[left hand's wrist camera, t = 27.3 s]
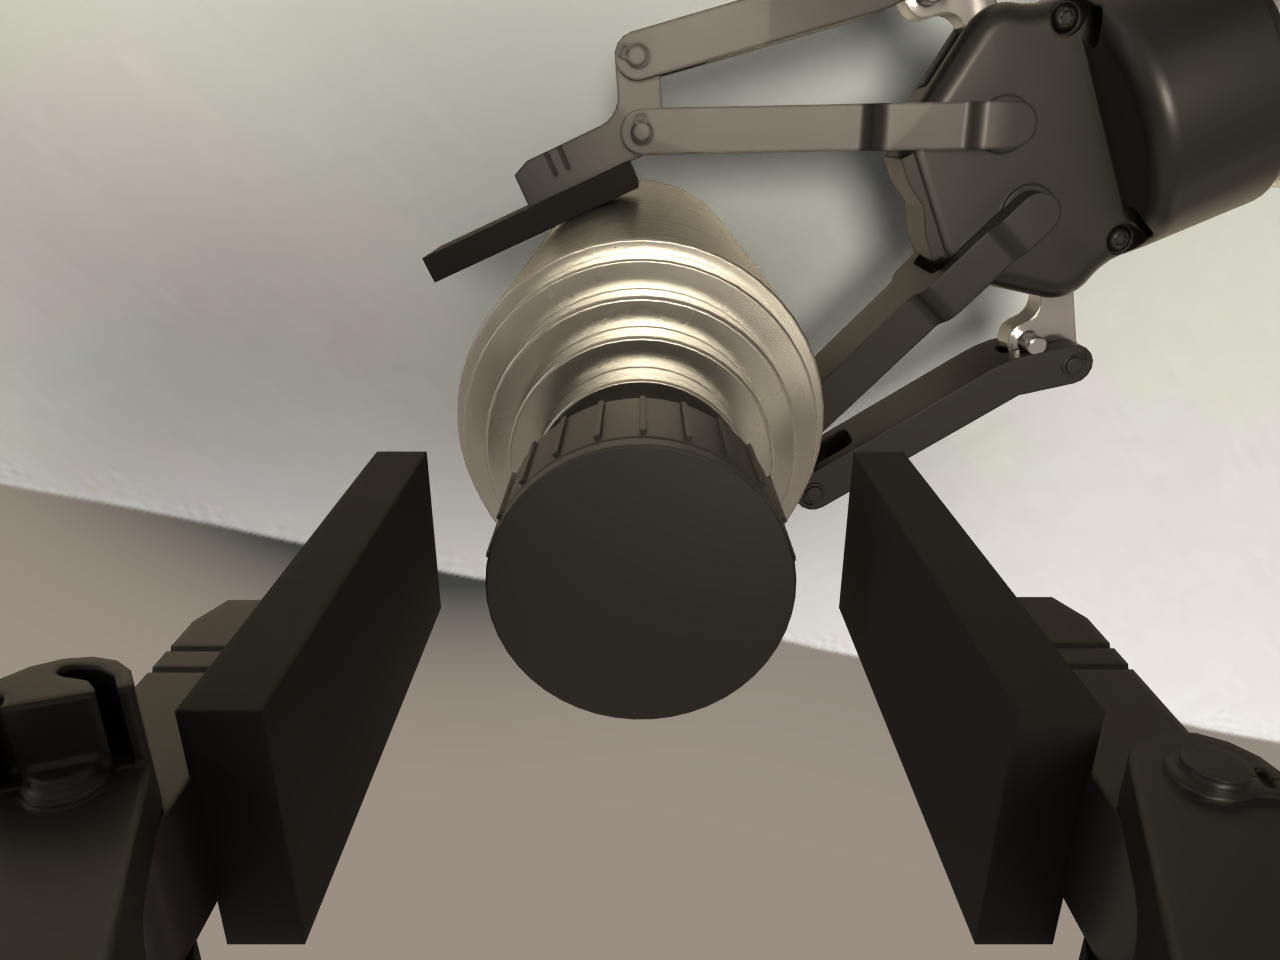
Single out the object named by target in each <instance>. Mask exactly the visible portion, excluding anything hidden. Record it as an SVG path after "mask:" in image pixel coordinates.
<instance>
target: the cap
mask: <svg viewBox="0 0 1280 960" xmlns="http://www.w3.org/2000/svg"><path fill="white" fill-rule="evenodd" d="M496 518H497V519H498V521H497V524H496V527H495V530H494V533H493V536H492V539H491V541H490V544H489V547H488V550H487V554H486V557H488V560H487V565H486V582H485V584H486V595H487V603H488V607H489V612H490V616H491V619H492V622H493V624H494V627H495V629H496V632H497V635H498V636H499V638H500V640H501V642H502V644H503V645H504V647H505V649H506V651H507V652H508V653H509V655H510V656H511V657H512V659H513V660H514V661H515V663H516V664H517V665H518V666H519V667H520V668H521V669H522V671H523V672H524V673H525V674H526V675H527V676H528V677H529V678H530V679H532V680H533V681H534V682H535V683H537V684H538V685H539V686H540V687H542V688H543V689H544V690H546V691H547V692H549V693H550V694H552V695H554V696H555V697H557V698H559V699H560V700H562V701H564V702H567V703H569V704H571V705H573V706H575V707H578V708H581V709H583V710H587V711H589V712H593V713H596V714H600V715H605V716H610V717H615V718H625V719H658V718H666V717H673V716H677V715H681V714H685V713H690V712H693V711H695V710H698V709H701V708H704V707H706V706H709V705H711V704H713V703H715V702H717V701H719V700H721V699H723V698H725V697H726V696H728V695H730V694H731V693H733V692H734V691H736V690H737V689H739V688H740V687H741V686H743V685H744V684H745V683H746V682H747V681H749V680H750V679H751V678H752V677H753V676H754V675H755V674H756V673H757V672H758V671H759V670H760V669H761V668H762V667H763V666H764V665H765V664H766V663H767V661H768V660H769V658H770V657H771V656H772V654H773V653H774V651H775V650H776V649H777V647H778V645H779V643H780V641H781V639H782V637H783V635H784V634H785V632H786V629H787V626H788V624H789V621H790V618H791V615H792V611H793V606H794V601H795V594H796V571H795V561H796V557H795V553H794V550H793V548H792V545H791V542H790V539H789V536H788V533H787V531H786V528H785V525H784V523H785V522H787V520H786V517H785V514H784V511H783V509H782V506H781V503H780V500H779V498H778V495H777V492H776V489H775V486H774V484H773V481H772V478H771V476H770V475H769V476H766V475H765V472H764V470H763V468H762V466H761V465H760V463H759V461H758V460H757V458H756V455H755V452H754V450H753V447H752V445H751V444H750V443H749V444H747V445H746V444H745V442H744V441H743V440H742V439H741V438H740V437H738V436H737V435H736V434H735V433H734V432H733V431H732V430H731V429H730V428H728V427H727V426H725V425H724V421H723V420H722V419H721V418H718V419H715V418H713V417H711V416H710V415H708V414H706V413H704V412H702V411H700V410H697V409H695V408H692V407H689V406H687V403H686V402H683V401H681V404H680V403H676V402H672V401H668V400H660V399H651V398H646V396H641V395H640V398H629V399H622V400H615V401H609V402H604V400H602V401H599V402H598V405H595V406H592V407H589V408H587V409H584V410H582V411H580V412H577V413H575V414H574V415H572V416H570V417H568V418H567V417H566V416H564V417H562V418H561V421H560V423H559V424H557V425H556V426H555V427H554V428H552V429H551V430H550V431H548V432H547V433H546V434H545V435H544V436H543V437H542V438H541V439H540V440H539V441H538V442H536V441H535V440H534V441H533V442H532V444H531V446H530V449H529V452H528V455H527V456H526V457H525V459H524V460H523V462H522V464H521V466H520V468H519V469H518V471H517V473H514V472H513V473H512V475H511V477H510V480H509V483H508V486H507V489H506V491H505V494H504V497H503V500H502V503H501V505H500V508H499V511H498V514H497V517H496Z"/></svg>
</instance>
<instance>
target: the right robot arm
mask: <svg viewBox="0 0 1280 960" xmlns="http://www.w3.org/2000/svg"><path fill="white" fill-rule="evenodd" d="M894 5H896V7H897V9H898V11H899V12H900V14H901V15H902V16H903V17H904V18H906V19H907V20H910V21H921V20H924V19H927V18H930V17H933V16H939V17H943V18H945V19H947V20H948V21H950V23H951V24H952V25H953V27H954V30H953V31H952V33H951V34H950V36H949V37H948V39H947V41H946V42H945V44H944V45H943V47H942V48H941V50H940V52H939V53H938V55H937V56H936V58H935V59H934V61H933V63H932V64H931V66H930V67H929V69H928V70H927V72H926V74H925V75H924V77H923V78H922V80H921V81H920V83H919V85H918V86H917V88H916V89H915V91H914V92H913V94H912V96H911V97H910V99H909V100H908V102H907V103H876V104H831V105H782V106H733V107H684V108H662V101H661V83H660V77H663V76H666V75H670V74H673V73H677V72H680V71H684V70H687V69H691V68H694V67H697V66H701V65H704V64H708V63H711V62H715V61H718V60H722V59H725V58H729V57H732V56H736V55H739V54H743V53H746V52H750V51H753V50H757V49H760V48H763V47H767V46H770V45H774V44H777V43H781V42H784V41H788V40H791V39H795V38H798V37H802V36H805V35H809V34H812V33H816V32H819V31H822V30H826V29H829V28H833V27H836V26H840V25H843V24H847V23H850V22H854V21H857V20H860V19H863V18H865V17H868V16H871V15H873V14H876V13H878V12H880V11H883V10H885V9H887V8H890V7H892V6H894ZM615 63H616V77H617V91H618V102H617V106H616V110H615V112H614V114H613V115H612V117H611V118H610V119H609V120H608V121H607V122H606V123H604V124H603V125H601V126H599V127H597V128H595V129H593V130H591V131H589V132H587V133H585V134H583V135H580V136H578V137H576V138H574V139H572V140H570V141H568V142H566V143H564V144H562V145H560V146H558V147H555V148H553V149H551V150H549V151H547V152H545V153H543V154H541V155H539V156H537V157H535V158H532V159H530V160H528V161H527V162H526V163H525V164H524V165H523V166H522V167H521V169H520V170H519V171H518V172H517V173H516V174H515V177H516V180H517V182H518V184H519V186H520V188H521V190H522V192H523V194H524V197H525V199H526V201H527V203H528V205H527V206H525V207H523V208H521V209H519V210H517V211H514V212H512V213H510V214H508V215H506V216H504V217H502V218H500V219H497V220H495V221H493V222H491V223H489V224H487V225H485V226H483V227H480V228H478V229H476V230H474V231H472V232H470V233H468V234H466V235H463V236H461V237H459V238H457V239H455V240H453V241H451V242H449V243H447V244H444V245H442V246H440V247H439V248H437V249H436V250H434V251H433V252H431V253H430V254H428V255H427V256H425V257H424V258H422V259H423V261H424V263H425V265H426V267H427V268H428V270H429V272H430V274H431V276H432V278H433V280H434V282H437V281H439V280H441V279H443V278H445V277H448V276H450V275H452V274H454V273H456V272H458V271H461V270H463V269H465V268H467V267H469V266H471V265H473V264H476V263H478V262H480V261H482V260H484V259H486V258H489V257H491V256H493V255H495V254H497V253H499V252H501V251H504V250H506V249H508V248H510V247H512V246H514V245H516V244H519V243H521V242H523V241H525V240H527V239H529V238H532V237H534V236H536V235H538V234H540V233H542V232H544V231H547V230H549V229H551V228H553V227H555V226H557V225H560V224H562V223H564V222H566V221H568V220H570V219H572V218H575V217H577V216H579V215H581V214H583V213H585V212H587V211H589V210H592V209H594V208H596V207H598V206H600V205H603V204H605V203H607V202H609V201H611V200H613V199H615V198H618V197H620V196H622V195H624V194H626V193H628V192H631V191H633V190H635V189H637V188H639V180H638V178H637V176H636V173H635V171H634V169H633V166H632V164H631V162H630V161H632V160H635V159H637V158H639V157H641V156H643V155H661V154H711V153H761V152H810V151H888V154H887V155H884V156H883V158H884V161H885V164H886V167H887V170H888V173H889V176H890V179H891V181H892V183H893V184H894V186H895V187H896V189H897V190H898V192H899V193H900V195H901V196H902V198H903V199H904V201H905V204H906V223H907V231H908V234H909V237H910V240H911V244H912V247H913V250H914V252H915V253H914V254H913V255H912V256H911V257H910V258H909V259H908V260H907V261H906V262H905V263H904V264H903V265H902V266H901V267H900V268H899V269H898V270H897V271H896V273H895V274H894V276H893V278H892V281H891V282H890V284H889V285H888V286H887V287H886V288H885V289H884V290H883V291H882V292H881V293H880V294H879V295H878V296H877V297H875V298H874V299H873V300H872V301H871V302H870V303H869V304H868V305H867V306H866V307H865V308H864V309H863V310H862V311H861V312H860V313H859V314H858V315H857V316H856V317H855V318H854V319H853V320H852V321H851V322H850V323H849V324H848V325H847V326H846V327H845V328H844V329H843V330H841V331H840V332H839V333H838V334H837V335H836V336H835V337H834V338H833V339H832V340H831V341H830V342H829V343H828V344H827V345H826V346H825V347H824V348H823V349H822V350H821V351H820V352H819V353H818V354H817V355H816V356H815V357H814V358H815V361H816V365H817V369H818V372H819V376H820V380H821V386H822V395H823V405H824V410H823V431H824V430H825V429H827V428H828V427H829V426H830V425H831V424H832V423H833V422H834V421H835V420H836V419H837V418H838V417H839V416H840V415H841V414H843V413H844V412H845V411H846V410H847V409H848V408H849V407H850V406H851V405H852V404H853V403H854V402H855V401H856V400H857V399H859V398H860V397H861V396H862V395H863V394H864V393H865V392H866V391H867V390H868V389H869V388H870V387H871V386H872V385H873V384H875V383H876V382H877V381H878V380H879V379H880V378H881V377H882V376H883V375H884V374H885V373H886V372H887V371H888V370H890V369H891V368H892V367H893V366H894V365H895V364H896V363H897V362H898V361H899V360H900V359H901V358H902V357H903V356H904V355H906V354H907V353H908V352H909V351H910V350H911V349H912V348H913V347H914V346H915V345H916V344H917V343H918V342H919V341H920V340H922V339H923V338H924V337H925V336H926V335H927V334H928V333H929V332H930V331H931V330H932V329H933V328H934V327H936V326H937V325H938V324H940V323H943V322H946V321H948V320H950V319H952V318H953V317H955V316H956V315H957V314H958V313H959V312H961V311H962V310H963V309H964V308H965V307H966V306H967V305H968V304H969V303H970V302H971V301H972V300H973V299H974V298H976V297H977V296H978V295H979V294H980V293H981V292H982V291H983V290H984V289H985V288H986V287H987V286H988V285H990V286H995V287H999V288H1004V289H1009V290H1013V291H1018V292H1022V293H1027V294H1029V299H1028V302H1027V305H1026V306H1025V308H1024V309H1023V310H1022V311H1021V312H1020V313H1019V314H1017V315H1015V316H1013V317H1011V318H1009V319H1007V320H1006V321H1005V322H1004V323H1003V324H1002V325H1001V326H1000V329H999V332H998V338H995V339H992V340H988V341H986V342H983V343H981V344H978V345H976V346H974V347H972V348H970V349H968V350H966V351H964V352H962V353H960V354H959V355H957V356H955V357H953V358H952V359H950V360H948V361H947V362H945V363H943V364H942V365H940V366H938V367H936V368H935V369H933V370H931V371H930V372H928V373H926V374H925V375H923V376H921V377H919V378H918V379H916V380H914V381H913V382H911V383H909V384H908V385H906V386H904V387H902V388H901V389H899V390H897V391H896V392H894V393H892V394H891V395H889V396H887V397H885V398H884V399H882V400H880V401H879V402H877V403H875V404H874V405H872V406H870V407H869V408H867V409H865V410H863V411H862V412H860V413H858V414H857V415H855V416H853V417H852V418H850V419H848V420H846V421H845V422H843V423H841V424H840V425H838V426H836V427H835V428H833V429H831V430H829V431H828V432H826V433H824V434H823V435H822V437H821V443H820V449H819V453H818V457H817V460H816V463H815V466H814V470H813V473H812V475H811V477H810V479H809V481H808V483H807V486H806V488H805V490H804V492H803V494H802V496H801V498H800V500H799V502H798V503H799V504H800V505H801V506H802V507H804V508H806V509H818V508H821V507H823V506H825V505H827V504H829V503H830V502H832V501H834V500H836V499H837V498H839V497H841V496H843V495H845V494H846V493H848V492H850V484H851V473H852V462H853V452H904V454H905V455H906V456H907V458H909V457H911V456H913V455H915V454H916V453H918V452H920V451H922V450H923V449H925V448H927V447H929V446H930V445H932V444H934V443H936V442H937V441H939V440H941V439H943V438H944V437H946V436H948V435H950V434H951V433H953V432H955V431H957V430H959V429H960V428H962V427H964V426H966V425H967V424H969V423H971V422H973V421H974V420H976V419H978V418H980V417H981V416H983V415H985V414H987V413H988V412H990V411H992V410H994V409H995V408H997V407H999V406H1001V405H1002V404H1004V403H1006V402H1008V401H1009V400H1011V399H1013V398H1015V397H1016V396H1018V395H1022V394H1026V393H1031V392H1036V391H1040V390H1045V389H1049V388H1054V387H1059V386H1063V385H1068V384H1073V383H1076V382H1078V381H1081V380H1082V379H1083V378H1084V377H1086V376H1087V375H1088V373H1089V372H1090V370H1091V368H1092V363H1093V359H1092V355H1091V353H1090V352H1089V351H1088V349H1087V348H1085V347H1083V346H1081V345H1079V344H1078V343H1077V342H1076V331H1075V313H1074V296H1073V292H1074V291H1075V290H1077V289H1078V288H1080V287H1081V286H1082V285H1083V284H1084V283H1085V282H1086V281H1087V280H1088V279H1089V278H1090V277H1091V276H1092V274H1093V273H1094V272H1095V271H1096V270H1097V269H1099V268H1100V267H1101V266H1102V265H1103V264H1105V263H1106V262H1108V261H1109V260H1111V259H1112V258H1114V257H1116V256H1119V255H1121V254H1124V253H1127V252H1129V251H1132V250H1135V249H1138V248H1140V247H1143V246H1146V245H1148V244H1151V243H1153V242H1155V241H1158V240H1160V239H1162V238H1165V237H1167V236H1170V235H1172V234H1174V233H1177V232H1179V231H1182V230H1184V229H1186V228H1189V227H1191V226H1194V225H1196V224H1198V223H1201V222H1203V221H1205V220H1208V219H1210V218H1213V217H1215V216H1217V215H1220V214H1222V213H1225V212H1227V211H1229V210H1232V209H1234V208H1237V207H1239V206H1241V205H1244V204H1246V203H1249V202H1251V201H1253V200H1255V199H1257V198H1258V197H1260V196H1262V195H1263V194H1264V193H1265V192H1266V191H1267V190H1268V189H1269V188H1270V187H1278V188H1279V187H1280V0H1041V1H1039V2H1037V3H1030V4H1022V3H1013V2H1000V3H997V1H996V0H738V1H734V2H731V3H728V4H724V5H721V6H717V7H714V8H711V9H707V10H704V11H700V12H697V13H694V14H690V15H687V16H683V17H680V18H676V19H673V20H670V21H666V22H663V23H659V24H656V25H653V26H649V27H646V28H642V29H639V30H636V31H632V32H630V33H628V34H626V35H624V36H623V37H622V38H621V40H620V41H619V42H618V44H617V47H616V50H615ZM823 431H822V432H823Z"/></svg>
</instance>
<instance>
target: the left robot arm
mask: <svg viewBox="0 0 1280 960" xmlns="http://www.w3.org/2000/svg"><path fill="white" fill-rule="evenodd" d="M440 609H441V603H440V592H439V581H438V571H437V560H436V549H435V538H434V527H433V516H432V506H431V495H430V484H429V473H428V462H427V452H376V454H375V455H374V456H373V458H372V459H371V460H370V461H369V463H368V464H367V465H366V467H365V468H364V469H363V470H362V472H361V473H360V474H359V476H358V477H357V478H356V479H355V481H354V482H353V483H352V485H351V486H350V487H349V488H348V490H347V491H346V492H345V493H344V495H343V496H342V497H341V499H340V500H339V501H338V502H337V504H336V505H335V506H334V508H333V509H332V510H331V511H330V513H329V514H328V515H327V517H326V518H325V519H324V520H323V522H322V523H321V524H320V526H319V527H318V528H317V529H316V531H315V532H314V533H313V534H312V536H311V537H310V538H309V540H308V541H307V542H306V543H305V545H304V546H303V547H302V549H301V550H300V551H299V552H298V554H297V555H296V556H295V558H294V559H293V560H292V561H291V563H290V564H289V565H288V567H287V568H286V569H285V570H284V572H283V573H282V574H281V576H280V577H279V578H278V579H277V581H276V582H275V583H274V585H273V586H272V587H271V588H270V590H269V591H268V592H267V593H266V595H265V596H264V597H263V599H262V600H228V601H226V602H225V603H223V604H221V605H220V606H218V607H216V608H215V609H213V610H211V611H210V612H208V613H206V614H205V615H203V616H202V617H200V618H198V619H196V620H195V621H193V622H192V623H191V624H190V626H189V627H188V628H187V629H186V630H185V631H184V632H183V634H182V635H181V636H180V637H179V638H178V639H177V640H176V642H175V643H174V644H173V645H172V646H171V651H170V652H166V653H165V654H164V655H163V656H162V657H161V658H160V660H159V661H158V662H157V663H156V664H155V665H154V666H153V671H152V673H147V674H146V675H145V677H144V678H143V679H142V680H141V681H140V682H139V683H138V684H137V686H136V687H135V685H134V681H133V677H132V673H131V670H129V669H128V668H127V667H125V666H124V665H122V664H121V663H120V662H118V661H116V660H110V659H104V658H98V657H83V658H69V659H61V660H56V661H52V662H48V663H44V664H40V665H36V666H32V667H28V668H26V669H23V670H21V671H18V672H16V673H14V674H11V675H9V676H6V677H4V678H1V679H0V960H201V957H200V953H199V948H198V944H197V938H198V936H199V934H200V932H201V931H202V929H203V927H204V925H205V923H206V921H207V919H208V917H209V916H210V914H211V912H212V910H213V908H214V906H215V904H216V903H217V901H218V905H219V910H220V914H221V918H222V923H223V927H224V932H225V936H226V940H227V944H305V943H306V940H307V938H308V935H309V933H310V930H311V928H312V925H313V923H314V920H315V918H316V916H317V913H318V910H319V908H320V905H321V903H322V901H323V898H324V896H325V893H326V891H327V888H328V886H329V883H330V881H331V878H332V876H333V873H334V871H335V868H336V866H337V864H338V861H339V859H340V856H341V853H342V851H343V849H344V846H345V844H346V841H347V839H348V836H349V834H350V831H351V829H352V826H353V824H354V821H355V819H356V817H357V814H358V812H359V809H360V807H361V804H362V802H363V799H364V797H365V794H366V792H367V789H368V787H369V784H370V782H371V779H372V777H373V774H374V772H375V769H376V767H377V765H378V762H379V760H380V757H381V755H382V752H383V750H384V747H385V745H386V742H387V740H388V737H389V735H390V732H391V730H392V727H393V725H394V722H395V720H396V717H397V715H398V713H399V710H400V708H401V705H402V703H403V700H404V698H405V695H406V693H407V690H408V688H409V685H410V683H411V680H412V678H413V675H414V673H415V670H416V668H417V666H418V663H419V661H420V658H421V656H422V653H423V651H424V648H425V646H426V643H427V641H428V638H429V636H430V633H431V631H432V628H433V626H434V623H435V621H436V618H437V616H438V614H439V611H440ZM839 609H840V611H841V614H842V616H843V618H844V621H845V623H846V626H847V628H848V631H849V633H850V636H851V638H852V641H853V643H854V646H855V648H856V651H857V653H858V656H859V658H860V661H861V663H862V666H863V668H864V670H865V673H866V675H867V678H868V680H869V683H870V685H871V688H872V690H873V693H874V695H875V698H876V700H877V703H878V705H879V708H880V710H881V713H882V715H883V717H884V720H885V722H886V725H887V727H888V730H889V732H890V735H891V737H892V740H893V742H894V745H895V747H896V750H897V752H898V755H899V757H900V759H901V762H902V764H903V767H904V769H905V772H906V774H907V777H908V779H909V782H910V784H911V787H912V789H913V792H914V794H915V797H916V799H917V802H918V804H919V807H920V809H921V811H922V814H923V816H924V819H925V821H926V824H927V826H928V829H929V831H930V834H931V836H932V839H933V841H934V844H935V846H936V849H937V851H938V854H939V856H940V859H941V861H942V863H943V866H944V868H945V871H946V873H947V876H948V878H949V881H950V883H951V886H952V888H953V891H954V893H955V896H956V898H957V901H958V903H959V906H960V908H961V911H962V913H963V915H964V918H965V920H966V923H967V925H968V928H969V930H970V933H971V935H972V938H973V940H974V943H975V944H1053V940H1054V936H1055V932H1056V927H1057V923H1058V918H1059V914H1060V910H1061V905H1062V901H1063V898H1064V900H1065V902H1066V904H1067V905H1068V907H1069V909H1070V911H1071V913H1072V915H1073V916H1074V918H1075V920H1076V922H1077V924H1078V926H1079V928H1080V929H1081V931H1082V933H1083V935H1084V940H1083V944H1082V948H1081V953H1080V957H1079V960H1280V771H1278V770H1277V769H1276V768H1274V767H1273V766H1272V765H1270V764H1269V763H1268V762H1266V761H1265V760H1263V759H1262V758H1261V757H1259V756H1257V755H1255V754H1253V753H1251V752H1249V751H1247V750H1244V749H1242V748H1240V747H1238V746H1236V745H1234V744H1232V743H1230V742H1227V741H1223V740H1219V739H1216V738H1212V737H1208V736H1205V735H1201V734H1198V733H1189V732H1188V731H1187V730H1186V729H1185V728H1184V726H1183V725H1182V724H1181V723H1180V722H1179V721H1178V720H1177V719H1176V717H1175V716H1174V715H1173V714H1172V713H1171V712H1170V711H1169V710H1168V708H1167V707H1166V706H1165V705H1164V704H1163V703H1162V702H1161V701H1160V699H1159V698H1158V697H1157V696H1156V695H1155V694H1154V693H1153V692H1152V690H1151V689H1150V688H1149V687H1148V686H1147V685H1146V684H1145V683H1144V681H1143V680H1142V679H1141V678H1140V677H1139V676H1138V675H1137V674H1136V672H1135V671H1134V670H1133V669H1128V663H1127V662H1126V661H1125V660H1124V659H1123V658H1122V657H1121V656H1120V654H1119V653H1118V652H1117V651H1116V650H1115V649H1114V648H1110V643H1109V642H1108V641H1107V640H1106V639H1105V638H1104V636H1103V635H1102V634H1101V633H1100V632H1099V631H1098V630H1097V629H1096V627H1095V626H1094V625H1093V624H1092V623H1091V622H1090V621H1089V620H1088V618H1086V617H1084V616H1083V615H1081V614H1079V613H1078V612H1076V611H1074V610H1073V609H1071V608H1069V607H1068V606H1066V605H1064V604H1063V603H1061V602H1059V601H1058V600H1056V599H1054V598H1053V597H1016V596H1015V595H1014V593H1013V592H1012V591H1011V590H1010V588H1009V587H1008V586H1007V584H1006V583H1005V582H1004V581H1003V579H1002V578H1001V577H1000V576H999V574H998V573H997V572H996V570H995V569H994V568H993V567H992V565H991V564H990V563H989V561H988V560H987V559H986V558H985V556H984V555H983V554H982V552H981V551H980V550H979V549H978V547H977V546H976V545H975V543H974V542H973V541H972V540H971V538H970V537H969V536H968V534H967V533H966V532H965V531H964V529H963V528H962V527H961V526H960V524H959V523H958V522H957V520H956V519H955V518H954V517H953V515H952V514H951V513H950V511H949V510H948V509H947V508H946V506H945V505H944V504H943V502H942V501H941V500H940V499H939V497H938V496H937V495H936V493H935V492H934V491H933V490H932V488H931V487H930V486H929V485H928V483H927V482H926V481H925V479H924V478H923V477H922V476H921V474H920V473H919V472H918V470H917V469H916V468H915V467H914V465H913V464H912V463H911V461H910V460H909V459H908V458H907V456H906V455H905V454H904V452H853V462H852V473H851V484H850V495H849V506H848V516H847V527H846V538H845V549H844V560H843V571H842V581H841V592H840V603H839Z"/></svg>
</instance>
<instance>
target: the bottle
mask: <svg viewBox="0 0 1280 960" xmlns="http://www.w3.org/2000/svg"><path fill="white" fill-rule="evenodd" d="M640 395H641V396H646V398H651V399H660V400H668V401H672V402H676V403H680V404H681V401H683V402H686V403H687V406H689V407H692V408H695V409H697V410H700V411H702V412H704V413H706V414H708V415H710V416H711V417H713V418H715V419H718V418H721V419H722V420H723V421H724V425H725V426H727V427H728V428H730V429H731V430H732V431H733V432H734V433H735V434H736V435H737V436H738V437H740V438H741V439H742V440H743V441H744V442H745V444H746V445H747V444H749V443H750V444H751V445H752V447H753V450H754V452H755V455H756V458H757V460H758V461H759V463H760V465H761V466H762V468H763V470H764V472H765V475H766V476H769V475H770V476H771V478H772V481H773V484H774V486H775V489H776V492H777V495H778V498H779V500H780V503H781V506H782V509H783V511H784V514H785V517H786V520H788V518H789V517H790V515H791V513H792V512H793V510H794V509H795V507H796V505H797V504H798V502H799V500H800V498H801V496H802V494H803V492H804V490H805V488H806V486H807V483H808V481H809V479H810V477H811V475H812V473H813V470H814V466H815V463H816V460H817V457H818V453H819V449H820V443H821V437H822V431H823V410H824V405H823V395H822V386H821V380H820V376H819V372H818V369H817V365H816V361H815V358H814V356H813V353H812V351H811V348H810V346H809V343H808V341H807V338H806V337H805V335H804V333H803V332H802V330H801V328H800V326H799V325H798V323H797V321H796V319H795V318H794V316H793V315H792V314H791V312H790V311H789V310H788V308H787V307H786V306H785V305H784V303H783V302H782V301H781V299H780V298H779V297H778V295H777V294H776V293H775V291H774V290H773V289H772V287H771V286H770V285H769V284H768V282H767V281H766V280H765V278H764V277H763V276H762V274H761V273H760V272H759V270H758V269H757V268H756V266H755V265H754V264H753V262H752V261H751V260H750V259H749V257H748V256H747V255H746V253H745V252H744V251H743V249H742V248H741V247H740V245H739V244H738V243H737V241H736V240H735V239H734V238H733V236H732V235H731V234H730V232H729V231H728V230H727V228H726V227H725V226H724V224H723V223H722V222H721V221H720V219H719V218H718V217H717V215H716V214H715V213H714V212H713V211H712V210H711V209H710V208H709V207H708V206H706V205H705V204H704V203H703V202H701V201H700V200H699V199H697V198H696V197H694V196H693V195H691V194H689V193H687V192H685V191H683V190H681V189H678V188H676V187H673V186H671V185H667V184H662V183H658V182H650V181H639V188H637V189H635V190H633V191H631V192H628V193H626V194H624V195H622V196H620V197H618V198H615V199H613V200H611V201H609V202H607V203H605V204H603V205H600V206H598V207H596V208H594V209H592V210H589V211H587V212H585V213H583V214H581V215H579V216H577V217H575V218H572V219H570V220H568V221H566V222H564V223H562V224H560V225H557V226H555V228H554V229H553V230H552V232H551V233H550V234H549V236H548V237H547V238H546V240H545V241H544V242H543V244H542V245H541V246H540V248H539V249H538V250H537V252H536V253H535V254H534V256H533V257H532V258H531V260H530V261H529V262H528V263H527V265H526V266H525V267H524V269H523V270H522V271H521V273H520V274H519V275H518V277H517V278H516V279H515V281H514V282H513V283H512V285H511V286H510V287H509V289H508V290H507V291H506V293H505V294H504V295H503V297H502V298H501V299H500V300H499V302H498V303H497V304H496V306H495V307H494V308H493V310H492V311H491V312H490V314H489V316H488V317H487V319H486V320H485V322H484V323H483V325H482V327H481V328H480V330H479V331H478V333H477V335H476V337H475V340H474V342H473V344H472V346H471V348H470V351H469V353H468V356H467V359H466V362H465V366H464V369H463V373H462V376H461V382H460V389H459V396H458V429H459V436H460V444H461V448H462V452H463V456H464V459H465V463H466V467H467V469H468V472H469V474H470V476H471V479H472V481H473V484H474V486H475V488H476V490H477V491H478V493H479V496H480V498H481V500H482V501H483V503H484V505H485V507H486V508H487V510H488V512H489V513H490V515H491V517H492V518H493V519H494V521H495V522H496V523H497V521H498V519H497V518H496V517H497V514H498V511H499V508H500V505H501V503H502V500H503V497H504V494H505V491H506V489H507V486H508V483H509V480H510V477H511V475H512V473H513V472H514V473H517V471H518V469H519V468H520V466H521V464H522V462H523V460H524V459H525V457H526V456H527V455H528V452H529V449H530V446H531V444H532V442H533V441H534V440H535V441H536V442H538V441H539V440H540V439H541V438H542V437H543V436H544V435H545V434H546V433H547V432H548V431H550V430H551V429H552V428H554V427H555V426H556V425H557V424H559V423H560V421H561V418H562V417H564V416H566V417H567V418H568V417H570V416H572V415H574V414H575V413H577V412H580V411H582V410H584V409H587V408H589V407H592V406H595V405H598V402H599V401H602V400H604V402H609V401H615V400H622V399H629V398H640ZM785 523H786V522H785ZM785 523H784V524H785Z"/></svg>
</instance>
